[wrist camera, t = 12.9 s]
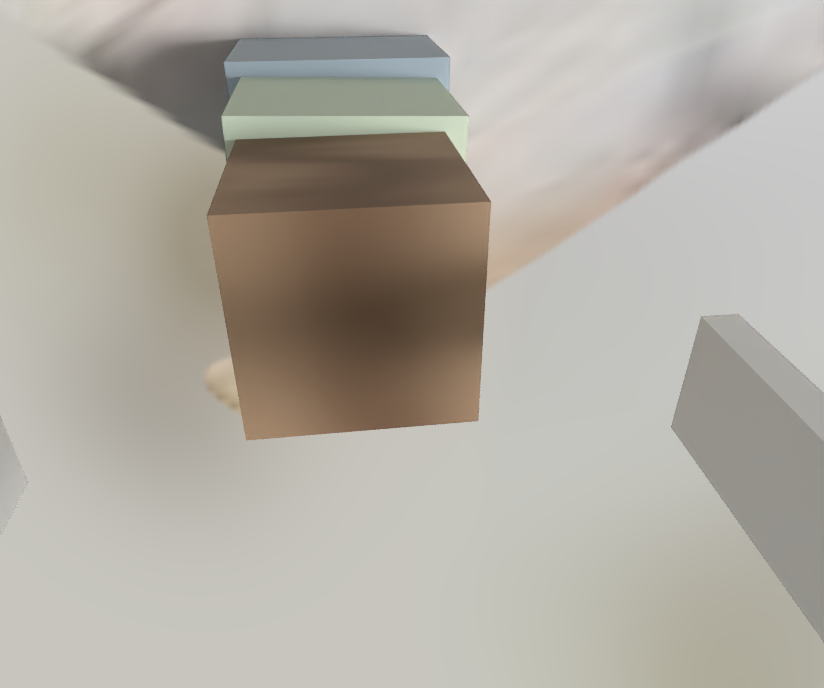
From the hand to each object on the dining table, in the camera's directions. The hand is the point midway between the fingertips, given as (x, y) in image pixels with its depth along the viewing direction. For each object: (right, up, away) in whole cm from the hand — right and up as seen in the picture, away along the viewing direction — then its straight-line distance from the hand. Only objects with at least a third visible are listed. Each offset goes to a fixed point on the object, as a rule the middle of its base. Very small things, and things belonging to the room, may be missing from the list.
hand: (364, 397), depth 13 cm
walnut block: (-1, +4, +8) cm, 9 cm away
